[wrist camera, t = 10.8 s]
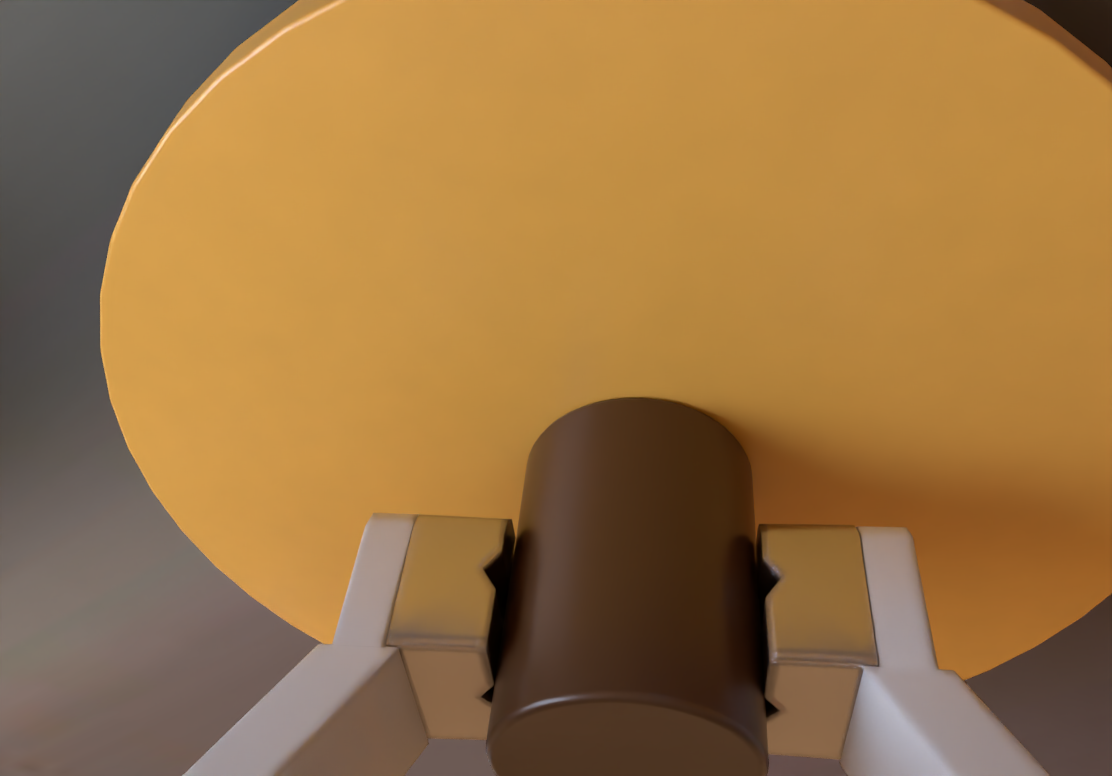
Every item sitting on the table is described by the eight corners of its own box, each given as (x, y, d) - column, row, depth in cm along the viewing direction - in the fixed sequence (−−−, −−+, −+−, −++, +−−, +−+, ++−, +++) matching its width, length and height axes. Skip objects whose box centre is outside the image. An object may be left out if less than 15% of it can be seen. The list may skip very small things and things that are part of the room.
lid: (16, -225, 9) (-430, 46, 5) (1499, -15, 9) (2026, 386, 5) (211, 609, 17) (94, 915, 14) (949, 709, 17) (1013, 1037, 14)
